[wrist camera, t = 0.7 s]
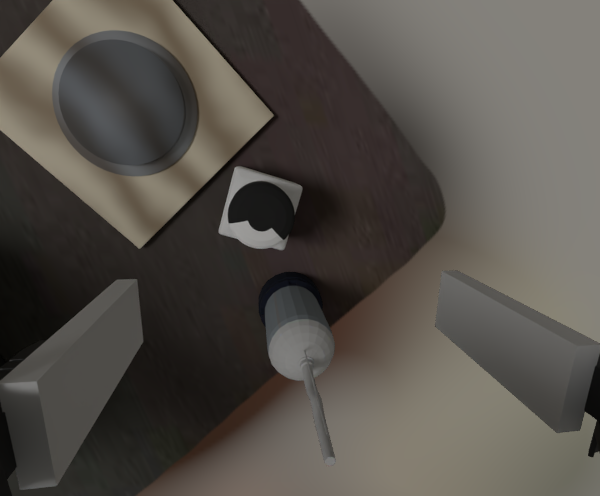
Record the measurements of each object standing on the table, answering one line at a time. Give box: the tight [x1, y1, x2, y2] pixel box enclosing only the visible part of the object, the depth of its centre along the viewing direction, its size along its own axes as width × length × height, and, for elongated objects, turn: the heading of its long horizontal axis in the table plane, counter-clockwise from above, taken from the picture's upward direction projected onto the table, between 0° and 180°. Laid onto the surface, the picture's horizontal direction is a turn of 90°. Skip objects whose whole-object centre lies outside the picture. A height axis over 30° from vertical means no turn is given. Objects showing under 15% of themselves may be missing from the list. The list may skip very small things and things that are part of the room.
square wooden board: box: [0, 0, 274, 249], centre depth 36 cm, size 22×22×2 cm
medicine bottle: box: [219, 166, 303, 250], centre depth 36 cm, size 7×7×12 cm
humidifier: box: [259, 272, 336, 466], centre depth 33 cm, size 8×8×25 cm
